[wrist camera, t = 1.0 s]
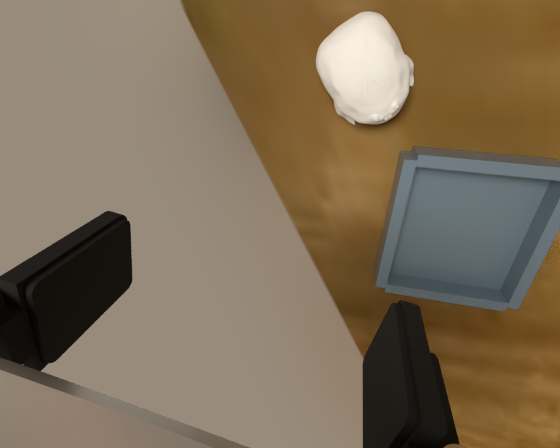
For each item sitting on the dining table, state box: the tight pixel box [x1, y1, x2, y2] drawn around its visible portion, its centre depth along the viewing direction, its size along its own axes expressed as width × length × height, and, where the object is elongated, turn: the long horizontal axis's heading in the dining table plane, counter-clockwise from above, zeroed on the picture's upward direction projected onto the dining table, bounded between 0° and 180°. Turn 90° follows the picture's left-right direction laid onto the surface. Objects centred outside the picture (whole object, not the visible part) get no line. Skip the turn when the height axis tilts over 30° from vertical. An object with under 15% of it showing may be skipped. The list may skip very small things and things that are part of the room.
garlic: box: [316, 12, 414, 125], centre depth 25 cm, size 8×7×4 cm
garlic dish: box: [374, 146, 560, 312], centre depth 29 cm, size 13×14×3 cm
